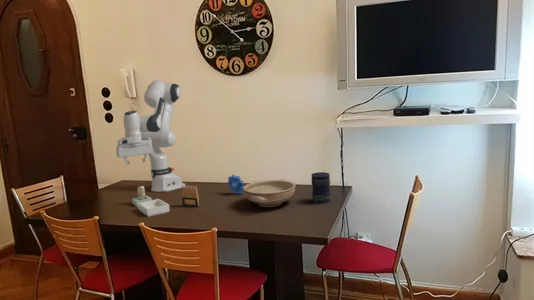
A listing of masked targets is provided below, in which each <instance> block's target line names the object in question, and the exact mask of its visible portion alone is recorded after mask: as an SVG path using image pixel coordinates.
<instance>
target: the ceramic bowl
mask: <svg viewBox="0 0 534 300" xmlns="http://www.w3.org/2000/svg"><path fill="white" fill-rule="evenodd" d="M243 186H244V187H243V190H242V191H243V195H244V197H245V198H246V199H247V200H248V201H249V202H252V203H254V204H258V206H260V207H263V208H274V207H279V206H281V205H282V204H283V202H284V203H285V202H286V201H288V200H290V199H291V198H292V197H293V196H294V195H295V192H296V183H295V182H293V181H291V180H286V179H283V178H280V179H263V180H257V181H252V182H250V183H248V184H245V185H243Z"/></svg>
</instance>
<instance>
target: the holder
mask: <svg viewBox="0 0 534 300" xmlns="http://www.w3.org/2000/svg"><path fill="white" fill-rule="evenodd" d="M145 198H146V199H143V200H138V196H137V197H133V198H132V199H131V203H132V204H133V205H134V206H135V207H137V208H138V203H141V202H146V201H151V200H153V198H152V197H150V196H148V195H145Z"/></svg>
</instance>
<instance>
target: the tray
mask: <svg viewBox="0 0 534 300" xmlns="http://www.w3.org/2000/svg"><path fill="white" fill-rule="evenodd" d="M137 209H138V211H139V212H140V213H142V214H143V215H145V216H146V217H148V218H149V217H154V216H157V215H161V214H166V213H170V211H171V210H170V204H169V203H167V202H165V201H164V200H162V199H160V198H156V199H152V200H151V201H146V202H141V203H138V207H137Z"/></svg>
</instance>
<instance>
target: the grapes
mask: <svg viewBox="0 0 534 300" xmlns="http://www.w3.org/2000/svg"><path fill="white" fill-rule="evenodd" d="M241 179H242V178H241V177H240V176H239V175H237V176H236V175H235V174H231V176H228V178H227V180H228V181H227V185H228V186H229V190H230V191H232V192H233V193H234V194H235V195H238V194H240V195H241V194H244V190H243V187H244V186H245V185H244V184H245V181H243V180H241Z"/></svg>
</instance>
